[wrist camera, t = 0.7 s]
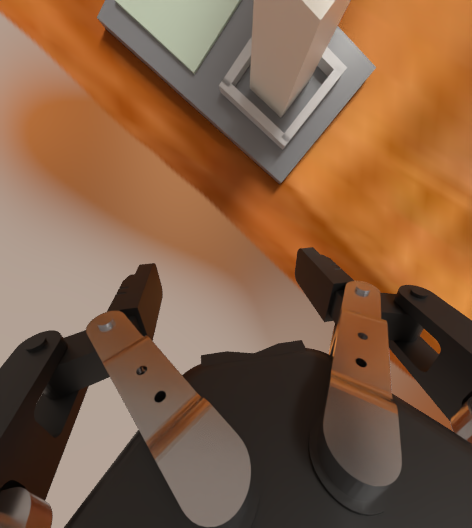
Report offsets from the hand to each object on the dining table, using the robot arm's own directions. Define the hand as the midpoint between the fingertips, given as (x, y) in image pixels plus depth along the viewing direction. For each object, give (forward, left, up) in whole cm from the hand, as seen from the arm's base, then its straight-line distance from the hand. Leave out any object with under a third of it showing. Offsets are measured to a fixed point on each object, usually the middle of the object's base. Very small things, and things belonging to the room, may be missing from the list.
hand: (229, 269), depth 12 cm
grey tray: (-21, +6, -20) cm, 29 cm away
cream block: (-16, +9, -18) cm, 26 cm away
